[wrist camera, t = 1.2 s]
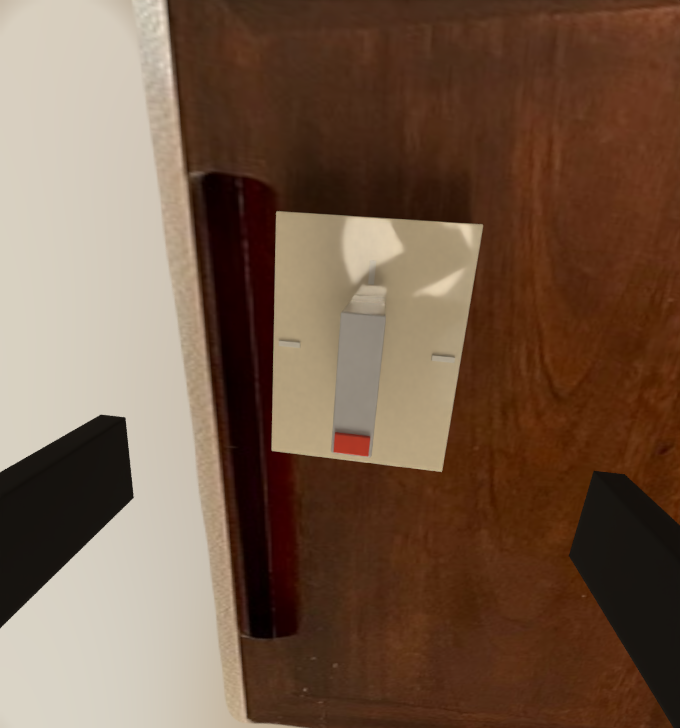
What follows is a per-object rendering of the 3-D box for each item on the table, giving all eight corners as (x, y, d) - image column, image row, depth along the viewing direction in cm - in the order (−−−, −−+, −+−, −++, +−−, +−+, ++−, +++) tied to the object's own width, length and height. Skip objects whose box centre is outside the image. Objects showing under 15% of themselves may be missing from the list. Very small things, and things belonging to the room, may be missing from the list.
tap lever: (353, 294, 23) (340, 312, 17) (386, 297, 23) (386, 316, 16) (345, 400, 25) (330, 455, 19) (375, 403, 25) (371, 460, 18)
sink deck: (288, 215, 25) (275, 210, 22) (472, 227, 24) (484, 224, 21) (282, 432, 30) (270, 452, 27) (436, 450, 29) (442, 473, 26)
